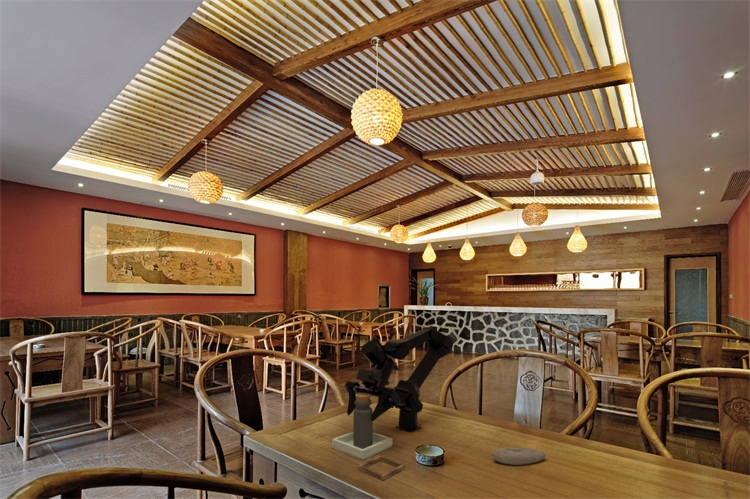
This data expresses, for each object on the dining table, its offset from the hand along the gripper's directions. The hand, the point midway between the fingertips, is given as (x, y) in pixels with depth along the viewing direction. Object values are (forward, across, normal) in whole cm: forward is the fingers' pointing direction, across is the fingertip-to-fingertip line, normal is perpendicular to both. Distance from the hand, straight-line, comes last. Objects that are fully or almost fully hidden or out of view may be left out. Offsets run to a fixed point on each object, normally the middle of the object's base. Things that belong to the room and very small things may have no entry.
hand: (359, 417), depth 123 cm
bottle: (+5, 0, +7) cm, 9 cm away
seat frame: (+11, +13, +2) cm, 18 cm away
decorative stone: (-8, +41, +22) cm, 47 cm away
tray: (+6, 0, +7) cm, 9 cm away
